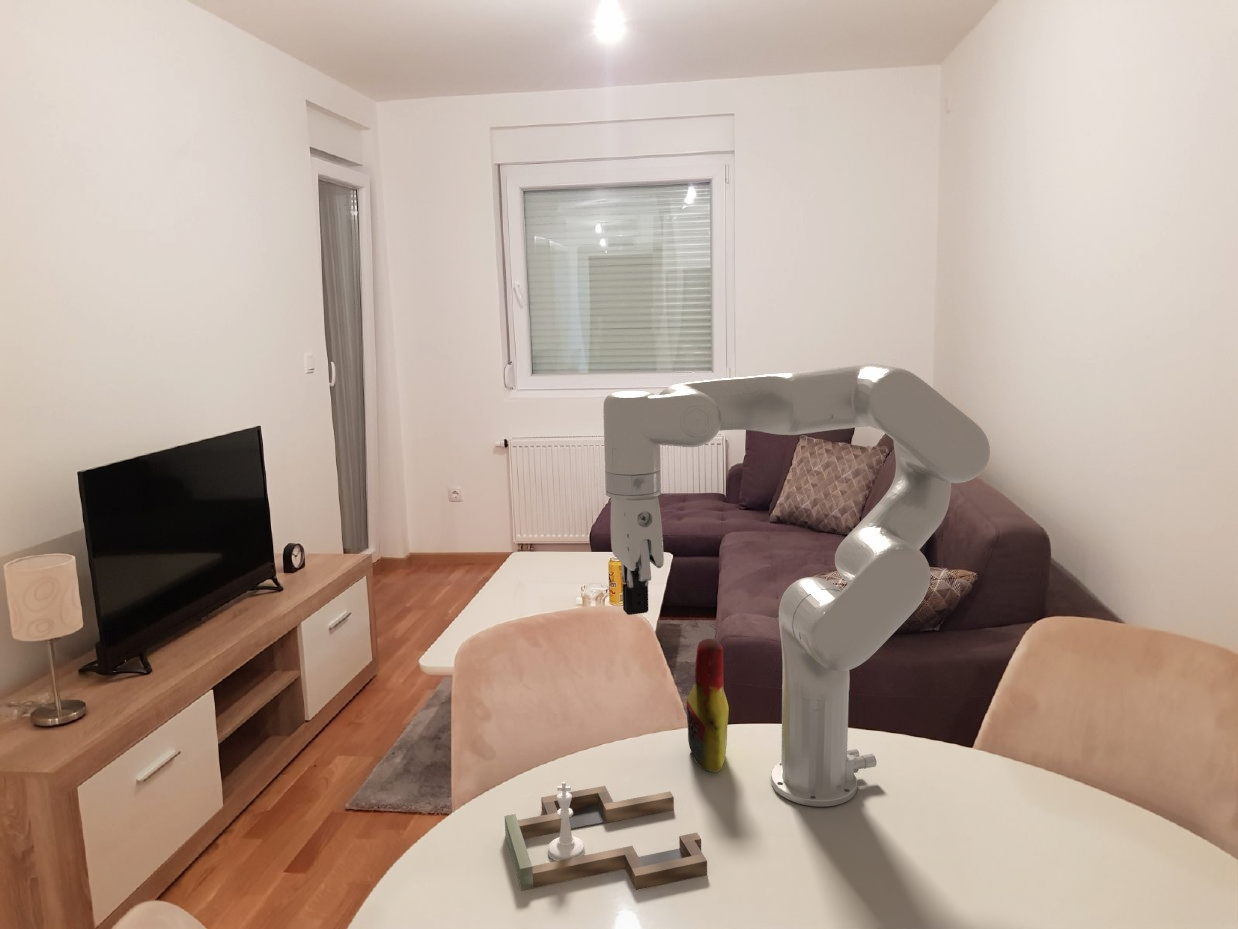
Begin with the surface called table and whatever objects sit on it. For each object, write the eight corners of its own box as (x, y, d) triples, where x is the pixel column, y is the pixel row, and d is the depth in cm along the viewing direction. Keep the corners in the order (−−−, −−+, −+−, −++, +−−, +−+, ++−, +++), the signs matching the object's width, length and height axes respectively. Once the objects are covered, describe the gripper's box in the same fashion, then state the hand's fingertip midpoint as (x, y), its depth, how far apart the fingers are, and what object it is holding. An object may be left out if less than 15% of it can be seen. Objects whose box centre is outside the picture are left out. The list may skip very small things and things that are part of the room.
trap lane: (660, 788, 132) (659, 769, 132) (714, 873, 112) (714, 852, 112) (500, 817, 126) (499, 798, 125) (528, 914, 106) (527, 891, 105)
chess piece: (582, 863, 115) (579, 793, 113) (544, 862, 116) (541, 792, 114) (587, 840, 120) (584, 773, 118) (551, 839, 120) (548, 772, 118)
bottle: (733, 778, 134) (733, 654, 131) (691, 780, 134) (690, 655, 131) (723, 740, 146) (723, 625, 142) (684, 741, 146) (683, 626, 142)
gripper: (678, 491, 114) (679, 627, 117) (642, 471, 128) (644, 592, 131) (622, 497, 112) (625, 634, 115) (592, 475, 126) (595, 598, 129)
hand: (635, 611), depth 123 cm, fingers closed
